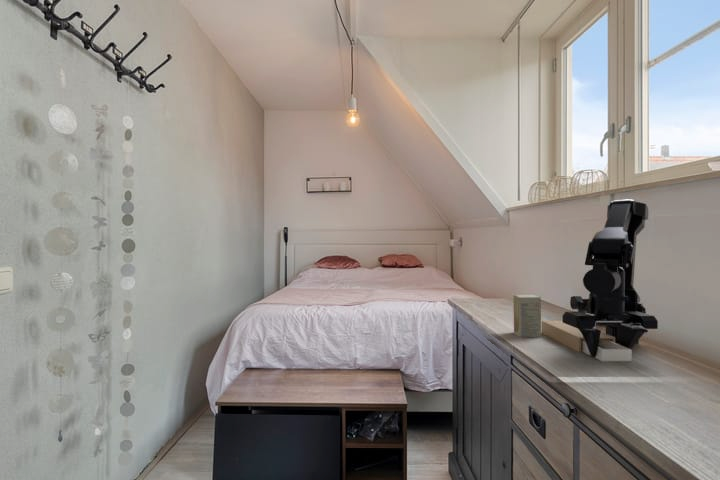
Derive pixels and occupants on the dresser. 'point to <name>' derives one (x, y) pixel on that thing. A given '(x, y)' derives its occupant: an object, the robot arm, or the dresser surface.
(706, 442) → the dresser surface
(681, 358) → the dresser surface
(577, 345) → the sleeve
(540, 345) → the dresser surface
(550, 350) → the dresser surface
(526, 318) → the skincare box
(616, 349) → the tray
